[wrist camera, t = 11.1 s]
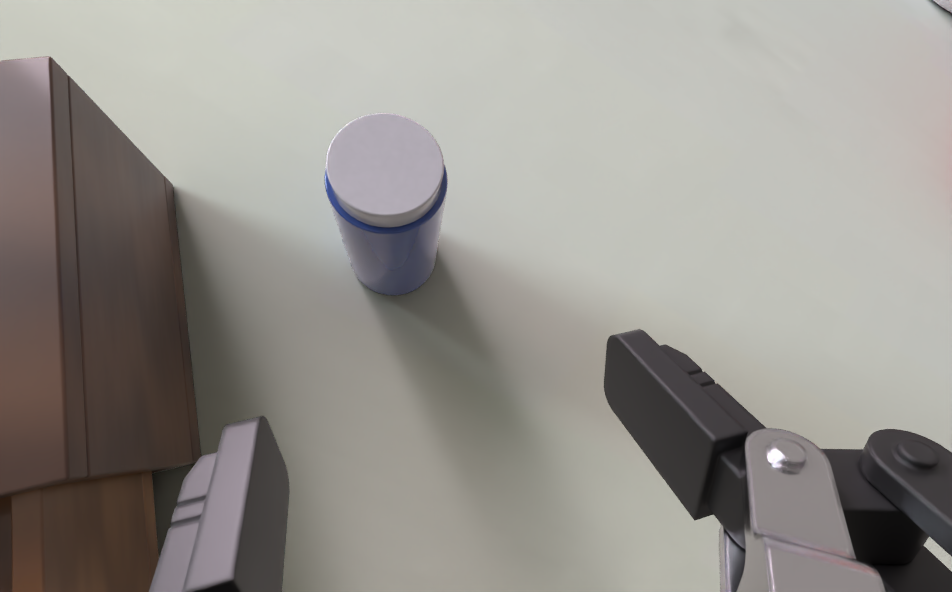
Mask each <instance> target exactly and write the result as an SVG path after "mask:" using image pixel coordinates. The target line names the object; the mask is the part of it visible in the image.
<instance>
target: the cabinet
mask: <svg viewBox="0 0 952 592" xmlns="http://www.w3.org/2000/svg"><path fill="white" fill-rule="evenodd" d="M200 457H201V451H200V441H199V432H198V422H197V413H196V403H195V394H194V384H193V375H192V365H191V356H190V346H189V337H188V327H187V318H186V308H185V299H184V289H183V280H182V270H181V261H180V251H179V242H178V232H177V223H176V213H175V204H174V194H173V185H172V184H171V182H170V181H169V180H168V179H167V178H166V177H165V176H164V175H163V174H162V173H161V172H160V171H159V170H158V169H157V168H156V167H155V166H154V165H153V164H152V163H151V162H150V161H149V159H148V158H147V157H146V156H145V155H144V154H143V153H142V152H141V151H140V150H139V149H138V148H137V147H136V146H135V145H134V144H133V143H132V142H131V141H130V139H129V138H128V137H127V136H126V135H125V134H124V133H123V132H122V131H121V130H120V129H119V128H118V127H117V126H116V125H115V124H114V123H113V122H112V120H111V119H110V118H109V117H108V116H107V115H106V114H105V113H104V112H103V111H102V110H101V109H100V108H99V107H98V106H97V105H96V104H95V103H94V102H93V100H92V99H91V98H90V97H89V96H88V95H87V94H86V93H85V92H84V91H83V90H82V89H81V88H80V87H79V86H78V85H77V84H76V83H75V81H74V80H73V79H72V78H71V77H70V76H68V75H67V73H66V72H65V71H64V70H63V69H62V68H61V67H60V66H59V65H58V64H57V63H56V62H55V61H54V60H53V59H52V58H51V57H49V56H47V57H36V58H25V59H14V60H2V61H0V498H4V497H8V496H12V495H16V494H21V493H25V492H29V491H33V490H37V489H41V488H45V487H49V486H54V485H58V484H59V485H60V484H66V483H73V482H80V481H87V480H93V479H100V478H107V477H114V476H120V475H127V474H134V473H141V472H147V471H152V474H153V473H157V472H161V471H165V470H169V469H173V468H177V467H181V466H185V465H189V464H194V463H196V462H197V461H198V460H199V458H200Z"/></svg>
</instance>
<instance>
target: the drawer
mask: <svg viewBox="0 0 952 592" xmlns="http://www.w3.org/2000/svg"><path fill="white" fill-rule="evenodd" d="M158 561H159V556H158V543H157V531H156V519H155V506H154V494H153V482H152V471H147V472H141V473H134V474H127V475H120V476H114V477H107V478H100V479H93V480H87V481H80V482H73V483H66V484H60V485H59V484H58V485H54V486H49V487H45V488H41V489H37V490H33V491H29V492H25V493H21V494H16V495H12V496H8V497H4V498H0V592H149V590H150V587H151V583H152V580H153V577H154V574H155V571H156V567H157V564H158Z"/></svg>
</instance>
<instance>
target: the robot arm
mask: <svg viewBox="0 0 952 592" xmlns="http://www.w3.org/2000/svg"><path fill="white" fill-rule="evenodd" d="M604 391H605V395H606V398H607V401H608V403H609V405H610V407H611V409H612V410H613V412H614V413H615V414H616V416H617V417H618V418H619V420H620V421H621V422H622V424H623V425H624V426H625V428H626V429H627V430H628V432H629V433H630V434H631V436H632V437H633V438H634V440H635V441H636V442H637V444H638V445H639V446H640V448H641V449H642V450H643V452H644V453H645V454H646V456H647V457H648V459H649V460H650V461H651V463H652V464H653V465H654V467H655V468H656V469H657V471H658V472H659V473H660V475H661V476H662V477H663V479H664V480H665V481H666V483H667V484H668V485H669V487H670V488H671V489H672V491H673V492H674V493H675V495H676V496H677V497H678V499H679V500H680V501H681V503H682V504H683V506H684V507H685V508H686V510H687V511H688V512H689V514H690V515H691V516H692V518H693V519H694V520H697V519H701V518H704V517H707V516H710V515H713V514H714V515H715V517H716V518H717V519H718V520H719V522H720V523H721V526H720V529H719V556H720V592H952V572H951V571H950V570H949V569H948V568H947V567H946V566H945V565H944V564H943V563H942V562H941V561H939V560H938V559H937V558H936V557H935V556H934V555H933V554H932V553H931V552H930V551H929V550H928V549H927V548H926V547H924V546H923V545H924V543H925V542H926V540H927V539H928V537H929V536H930V537H931V538H932V539H933V540H934V541H935V542H936V543H937V544H939V545H940V546H941V547H942V548H943V549H944V550H945V551H946V552H947V553H949V554H950V555H951V556H952V453H951V452H950V451H948V450H947V449H945V448H944V447H942V446H941V445H939V444H938V443H936V442H934V441H932V440H930V439H928V438H926V437H923V436H920V435H918V434H915V433H911V432H908V431H903V430H896V429H885V430H879V431H876V432H874V433H873V434H872V435H871V436H870V437H869V439H868V441H867V443H866V445H865V447H864V449H863V450H854V449H819V448H818V447H817V446H816V445H815V444H813V443H812V442H811V441H809V440H807V439H806V438H804V437H802V436H800V435H798V434H795V433H793V432H790V431H786V430H782V429H774V428H766V427H765V426H764V425H762V424H761V423H760V422H759V421H758V420H757V419H756V418H755V417H754V416H753V415H751V414H750V413H749V412H748V411H747V410H746V409H745V408H744V407H743V406H742V405H741V404H739V403H738V402H737V401H736V400H735V399H734V398H733V397H732V396H731V395H730V394H729V393H727V392H726V391H725V390H724V389H723V388H722V387H721V386H720V385H719V384H715V382H714V380H713V379H712V378H711V377H710V376H709V375H708V374H707V373H706V372H702V369H701V368H700V367H699V366H698V365H697V364H696V363H695V362H694V361H692V360H691V359H690V358H689V357H688V356H687V355H686V354H684V353H682V352H680V351H678V350H676V349H673V348H671V347H669V346H667V345H661V346H659V345H658V344H657V343H656V342H655V341H654V340H653V339H652V338H651V337H650V336H649V335H648V334H647V333H646V332H644V331H643V330H640V329H638V330H634V331H629V332H625V333H621V334H616V335H612V336H610V337H609V339H608V341H607V351H606V364H605V376H604ZM288 503H289V479H288V473H287V469H286V465H285V462H284V460H283V457H282V455H281V452H280V450H279V447H278V445H277V442H276V440H275V438H274V435H273V433H272V430H271V428H270V425H269V423H268V421H267V419H266V418H265V417H264V416H260V417H256V418H251V419H247V420H243V421H239V422H234V423H230V424H226V425H225V426H224V428H223V431H222V435H221V439H220V443H219V446H218V450H217V452H216V453H212V454H207V455H203V456H201V457H200V458H199V460H198V461H197V462H196V464H195V465H194V466H193V468H192V469H191V470H190V472H189V473H188V474H187V476H186V477H185V478H184V480H183V484H182V487H181V490H180V493H179V496H178V500H177V507H176V508H175V509H174V513H173V516H172V519H171V522H170V524H171V528H169V529H168V532H167V535H166V538H165V542H164V545H163V548H162V551H161V554H160V558H159V561H158V564H157V567H156V571H155V574H154V577H153V580H152V583H151V587H150V590H149V592H282V581H283V568H284V555H285V542H286V529H287V516H288Z"/></svg>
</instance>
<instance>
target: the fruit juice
mask: <svg viewBox="0 0 952 592" xmlns="http://www.w3.org/2000/svg"><path fill="white" fill-rule="evenodd" d="M933 1H934V2H936V3H937V4H938V5H940V6H941V7H942V8H944V9H946V10H947V11H949V12H951V13H952V0H933Z"/></svg>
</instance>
